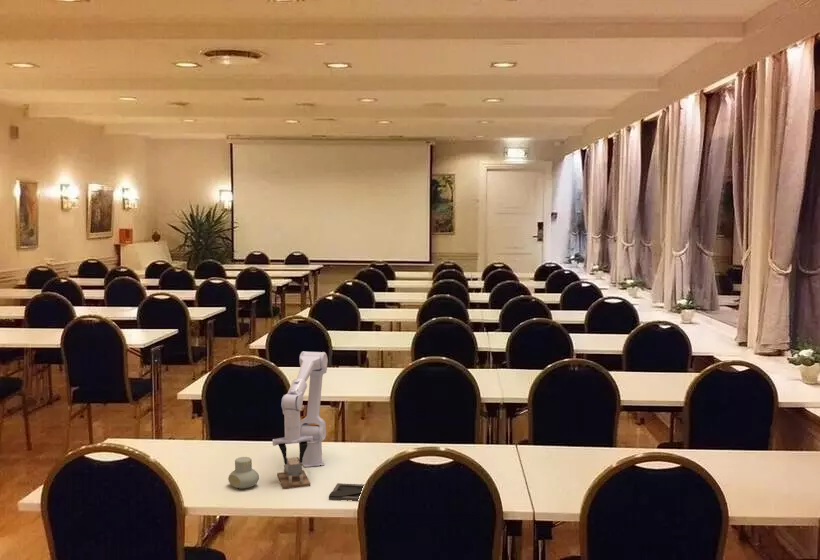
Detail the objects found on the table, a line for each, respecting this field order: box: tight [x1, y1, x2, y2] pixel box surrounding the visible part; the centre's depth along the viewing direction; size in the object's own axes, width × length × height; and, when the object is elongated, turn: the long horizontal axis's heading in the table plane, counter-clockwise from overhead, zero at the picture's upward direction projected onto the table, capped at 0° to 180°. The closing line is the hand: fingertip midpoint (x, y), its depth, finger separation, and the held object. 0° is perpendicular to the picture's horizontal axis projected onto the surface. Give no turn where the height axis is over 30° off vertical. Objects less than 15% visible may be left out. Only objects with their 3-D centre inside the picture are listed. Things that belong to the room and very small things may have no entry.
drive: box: [284, 456, 303, 477], centre depth 293 cm, size 9×5×4 cm, turn 17°
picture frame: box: [328, 482, 365, 502], centre depth 280 cm, size 13×2×18 cm
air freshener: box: [227, 456, 260, 490], centre depth 288 cm, size 11×8×10 cm
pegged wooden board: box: [277, 464, 311, 490], centre depth 293 cm, size 15×10×4 cm, turn 17°
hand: (293, 462), depth 293 cm, fingers closed on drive, 5 cm apart
